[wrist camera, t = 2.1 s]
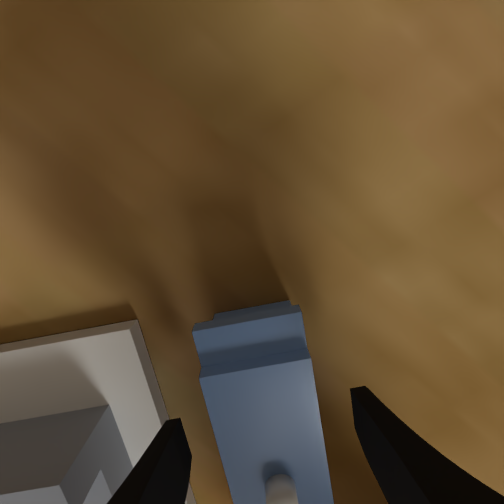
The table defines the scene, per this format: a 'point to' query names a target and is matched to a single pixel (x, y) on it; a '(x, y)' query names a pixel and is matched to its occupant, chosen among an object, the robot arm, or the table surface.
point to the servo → (264, 405)
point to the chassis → (76, 414)
